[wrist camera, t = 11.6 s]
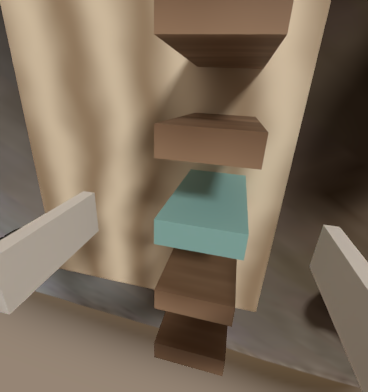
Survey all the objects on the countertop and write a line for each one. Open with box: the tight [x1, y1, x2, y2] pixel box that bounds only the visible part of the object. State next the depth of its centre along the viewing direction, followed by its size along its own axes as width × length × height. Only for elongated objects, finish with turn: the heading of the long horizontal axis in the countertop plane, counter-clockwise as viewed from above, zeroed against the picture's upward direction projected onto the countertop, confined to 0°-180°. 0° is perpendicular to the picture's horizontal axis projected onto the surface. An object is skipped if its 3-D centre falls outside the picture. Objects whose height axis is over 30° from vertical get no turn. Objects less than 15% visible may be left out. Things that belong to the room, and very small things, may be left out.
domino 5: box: [154, 311, 227, 376], centre depth 21 cm, size 2×5×10 cm, turn 87°
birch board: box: [0, 0, 331, 312], centre depth 23 cm, size 26×30×1 cm
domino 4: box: [154, 248, 237, 327], centre depth 19 cm, size 2×5×10 cm, turn 87°
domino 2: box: [154, 113, 269, 170], centre depth 15 cm, size 2×5×10 cm, turn 87°
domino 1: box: [154, 0, 294, 69], centre depth 13 cm, size 2×5×10 cm, turn 87°
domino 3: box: [154, 169, 249, 260], centre depth 17 cm, size 2×5×10 cm, turn 87°
